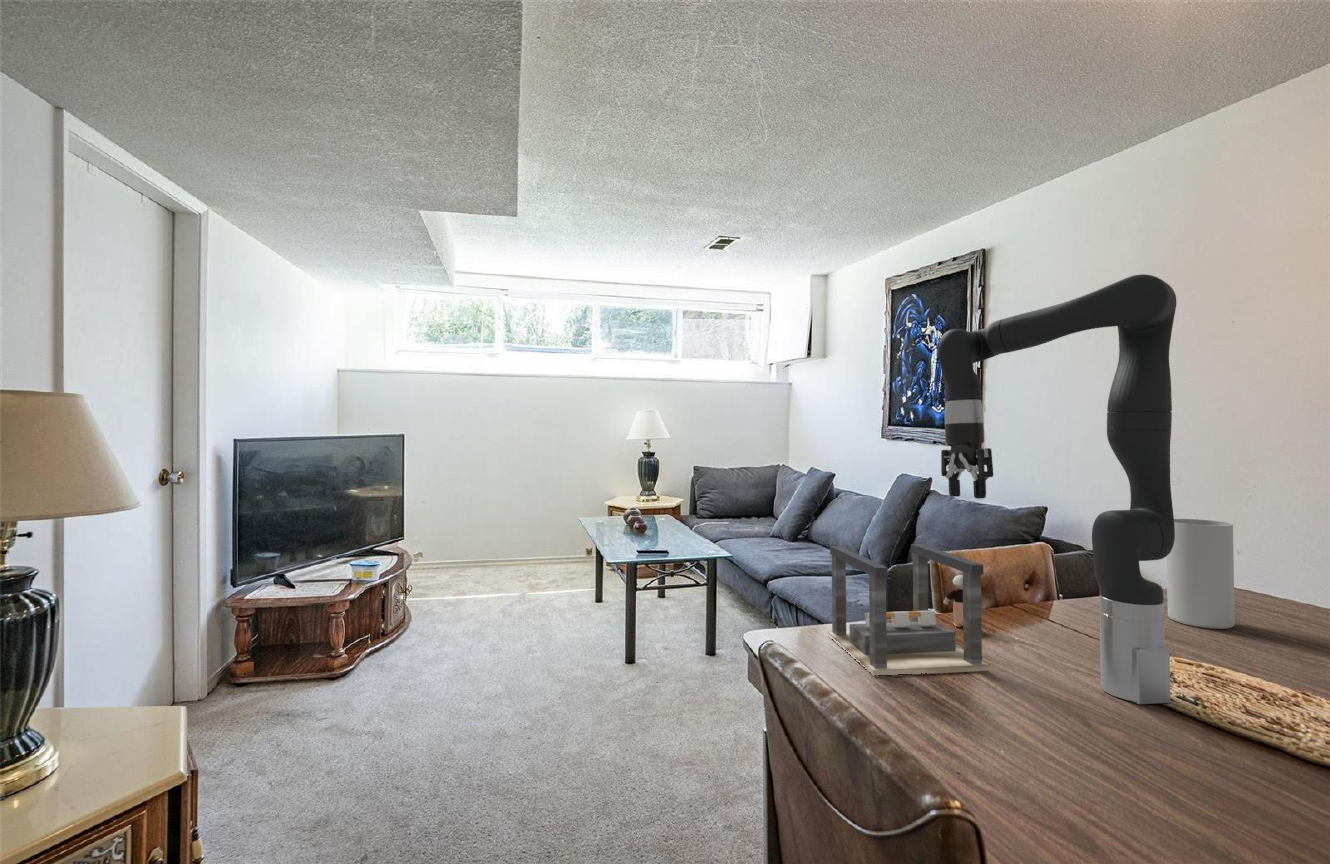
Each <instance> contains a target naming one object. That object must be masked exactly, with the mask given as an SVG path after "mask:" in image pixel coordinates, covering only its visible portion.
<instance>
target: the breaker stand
mask: <svg viewBox="0 0 1330 864" xmlns="http://www.w3.org/2000/svg"><path fill="white" fill-rule="evenodd" d="M928 561H929V559H927V558H925V557H922V556H919V555H917V554H914V553H912V590H913V591H912V594H913V595H912V599H913V601H912V602H913V606H912V608H913V610H912V611H928V610H929V567H928V566H929V562H928ZM846 564H847V563H846V562H844V561H842V560H840V559H838V558H836V557H834V556H832V555H831V612H832V613H831V617H832V619H831V622H832V623H831V625H832V628H831V629H832V630H828V631H827V635H828V634H829V635H830V636H832V637H833V638H834V639H835V640H836V641H838V642H839V643H840V644H841V645H842V646H844V647H845V649H846V650H847V651H849V652H850V653H851V654H852V655H853V656H854V657H855V658H856V659H857V660H858V661H860V663H861V664H862V665H864V666H865V667H866V668H867V670H869V671H870V672H871V673H872V675H892V676H899V675H898V674H912V675H926V674H925V673H927V674H929V675H931V674H949V673H968V672H969V673H970V672H988V671H989V664H988V663H986V662H984V661H983V650H982V649H983V642H982V641H983V639H982V636H983V635H982V633H983V632H982V628H983V627H982V575H971V574H968V573H965V572H962V575H963V624H962V628H963V629H962V630H963V631H962V632H963V633H962V634H963V635H962V636H963V642H962V643H963V648H961V647H959V646H957V645H956V631H954V630H952V629H951V628H948V627H947V626H945V625H943V624H941V623H939V622H937V621H936V625H920V624H918V616H916V617H913V621H910V626H894V625H892V622H887V618H886V612H887V578H875V577H873V576H871V575H869V574H868V591H869V592H868V598H869V599H868V600H869V601H868V604H869V607H868V610H869V611H868V613H869V624H870V627H867V626H866V623H853V624H852V623H850V624H849V630H847V584H846V583H847V578H846V577H847V572H846V571H847V570H846V569H847V567H846V566H847V565H846ZM867 670H866V671H867ZM921 673H922V674H921ZM872 675H871V676H872Z"/></svg>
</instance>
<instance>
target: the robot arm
mask: <svg viewBox="0 0 1330 864" xmlns="http://www.w3.org/2000/svg"><path fill="white" fill-rule="evenodd" d="M1177 302H1178V301H1177V295H1176V293H1175V290H1174V289H1173V288H1172V286H1171V285H1170V284H1169V283H1168V282H1166V281H1164V280H1163V279H1161V278H1159V277H1158V276H1155V275H1151V274H1134V275H1130V276H1128V277H1126V278H1123V279H1121V280H1118V281H1116V282H1113V283H1111V284H1108V285H1106V286H1104V287H1101V288H1099V289H1097V290H1095V291H1092V292H1090V293H1088V294H1084V295H1081V296H1079V297H1076V298H1074V299H1070V300H1068V301H1064V302H1061V303H1058V304H1055V305H1051V306H1048V307H1044V308H1038V309H1036V310H1035V309H1034V310H1031V311H1027V312H1024V313H1020V314H1016V315H1012V316H1009V317H1005V318H1001V319H997V320H995V321H993V322H991V323H989V325H987V327H985V328H981V329H978V330H973V331H969V330H965V329H961V328H954V329H949V330H947V331H946V332H944V333H943V335H942V336H941V337H940V338H939V341H938V345H937V346H938V347H937V355H938V357H937V358H938V361H939V366H940V371H941V374H942V376H943V377H942V378H943V380H944V401H945V403H944V434H945V440H944V441H945V444H947V445H950V449H942V450H941V451H940V452H941V455H940V458H941V460H940V461H941V462H940V463H941V464H940V465H941V466H940V467H941V470H940V471H941V472H940V473H941V476H942V477H946V479H947V480H948V495H949V496H950V497H954V498H955V497H960V496H961V480H960V477H961V475H962V473H963V472H965V471H967V472H968V473H970V475H971V477H972V478H973V481H972V482H973V498H974V499H979V500H981V499H986V498H987V483H986V482H987V480H988V479H989V478H993V477H994V465H993V464H994V463H993V455H992V454H993V453H992V451H993V450H992V448H990V447H983V448H982V447H981V446H980V445H982V444H984V443H985V426H984V425H985V423H984V422H985V421H984V408H983V404H982V385H981V379H980V377H979V375H977V373H976V372H975V369H974V364H975V363H979V362H982V361H985V360H989V359H991V358H993V357H996V356H999V355H1002V354H1008V353H1012V352H1017V351H1021V350H1025V349H1030V348H1034V347H1037V346H1041V345H1043V344H1046V343H1049V342H1052V341H1054V340H1057V339H1061V338H1062V337H1065V336H1068V335H1072V334H1076V333H1080V332H1084V331H1088V330H1093V329H1100V328H1102V329H1104V328H1110V327H1117V331H1118V332H1117V334H1118V347H1119V348H1118V349H1119V351H1118V361H1117V366H1116V370H1115V373H1114V376H1113V380H1112V384H1111V386H1110V391H1109V394H1108V400H1107V409H1106V411H1107V413H1106V437H1107V441H1108V443H1109V446H1110V449H1111V450H1112V452H1113V454H1114V455H1115V457H1116V459H1117V460H1118V462H1119V463H1120V465H1121V467H1122V469H1123V470H1124V472H1125V474H1126V477H1127V478H1128V483H1129V490H1130V503H1129V504H1130V506H1129V507H1130V508H1129V509H1117V510H1116V509H1115V510H1106V511H1103V512H1101V513H1100V514H1098V515H1097V517H1096V518H1095V519H1094V522H1093V525H1092V530H1091V545H1092V557H1093V572H1094V577H1095V580H1096V582H1097V585H1098V588H1099V649H1100V650H1099V652H1100V653H1099V657H1100V663H1099V664H1100V666H1099V667H1100V688H1101V690H1102V691H1104V692H1105V693H1107V694H1109V695H1111V696H1113V697H1116V698H1120V699H1121V700H1126V701H1129V702H1133V703H1135V704H1138V705H1149V704H1150V705H1151V704H1170V703H1171V664H1170V663H1171V659H1170V658H1171V654H1170V648H1168V647H1166V646H1165V631H1164V630H1165V629H1164V627H1165V626H1164V625H1165V621H1164V617H1165V615H1164V614H1165V611H1164V607H1165V606H1164V590H1163V587H1162V586H1161V585H1160V584H1158V583H1157V582H1154V581H1151V580H1148V579H1145V578H1144V577H1143V576H1142V574H1141V568H1140V562H1145V561H1146V562H1148V561H1151V562H1152V561H1159V560H1163V559H1165V558H1167V555H1168V554H1169V553H1170V552H1171V550H1172V548H1173V545H1174V540H1175V526H1174V519H1175V518H1174V517H1175V516H1174V508H1173V499H1172V488H1171V486H1172V485H1171V438H1172V418H1173V417H1172V414H1173V412H1172V411H1173V406H1172V405H1173V403H1172V399H1173V397H1172V379H1171V368H1170V348H1171V339H1172V332H1173V326H1174V320H1175V315H1176V309H1177ZM947 469H948V470H947ZM985 469H986V470H985Z"/></svg>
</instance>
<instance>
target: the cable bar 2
mask: <svg viewBox="0 0 1330 864" xmlns="http://www.w3.org/2000/svg"><path fill="white" fill-rule="evenodd" d="M910 553H911V554H913V553H914V554H917V555H919V556H922V557H925V558H927V559H928V560H929V561H932V562H936V563H938V564H941V565H944V566H947V567H949V568H952V569H955V570H957V571H960V572H962V573H963V572H965V573H968V574H971V575H981V576H983V575H984V564H982V563H980V562H979V563H978V562H977V561H973V560H971V559H970V560H969V559H967V558H963V557H961V556H958V555H956V554H952V553H950V552H947V551H944V550H942V549H941V550H940V549H937V548H934V547H932V546H930V545H929V546H928V545H925V544H922V543H911V544H910Z"/></svg>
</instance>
